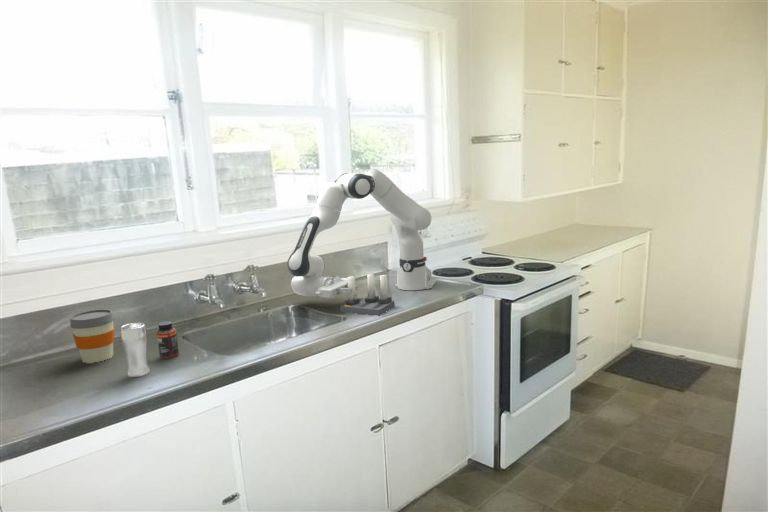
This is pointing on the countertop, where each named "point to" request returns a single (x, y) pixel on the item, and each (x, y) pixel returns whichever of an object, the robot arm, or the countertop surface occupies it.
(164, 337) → the supplement bottle
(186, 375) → the countertop surface
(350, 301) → the switch handle
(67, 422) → the countertop surface
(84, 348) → the reusable coffee cup
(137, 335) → the beer glass
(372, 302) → the switch console
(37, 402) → the countertop surface
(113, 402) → the countertop surface
